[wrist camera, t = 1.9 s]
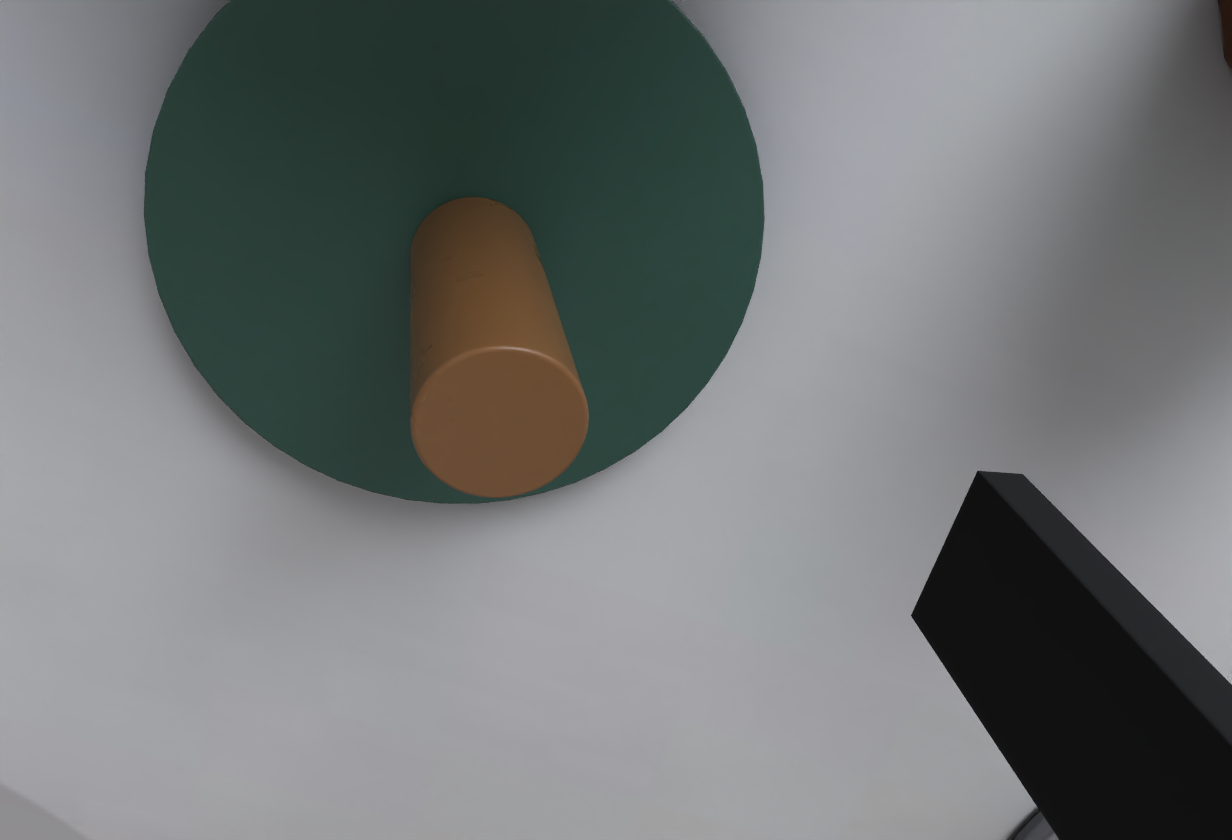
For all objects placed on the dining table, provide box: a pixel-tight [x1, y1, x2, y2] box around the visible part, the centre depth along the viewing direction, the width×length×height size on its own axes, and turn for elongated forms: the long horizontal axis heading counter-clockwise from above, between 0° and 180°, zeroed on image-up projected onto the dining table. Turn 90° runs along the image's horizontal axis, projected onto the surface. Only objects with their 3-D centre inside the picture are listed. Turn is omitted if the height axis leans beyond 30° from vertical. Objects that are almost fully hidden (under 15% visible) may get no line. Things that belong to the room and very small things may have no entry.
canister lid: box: [144, 0, 764, 503], centre depth 18 cm, size 14×14×9 cm
